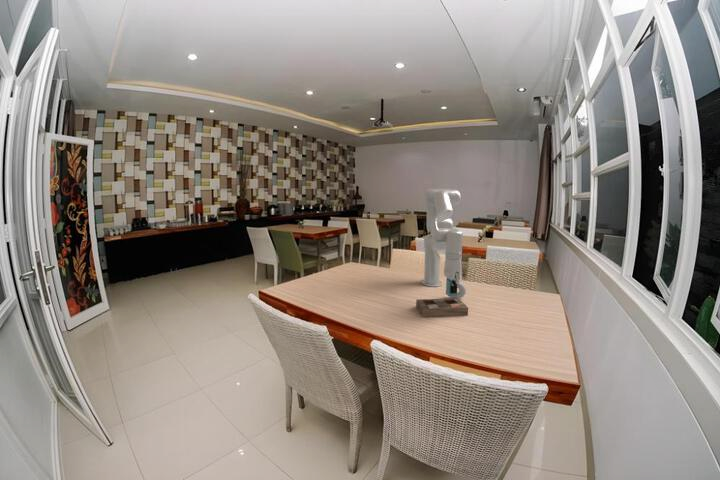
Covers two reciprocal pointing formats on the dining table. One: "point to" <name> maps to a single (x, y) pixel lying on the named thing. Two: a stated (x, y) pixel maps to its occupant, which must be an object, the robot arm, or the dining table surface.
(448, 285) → the plug
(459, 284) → the donut
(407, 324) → the dining table surface
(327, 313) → the dining table surface
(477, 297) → the dining table surface
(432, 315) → the socket block
